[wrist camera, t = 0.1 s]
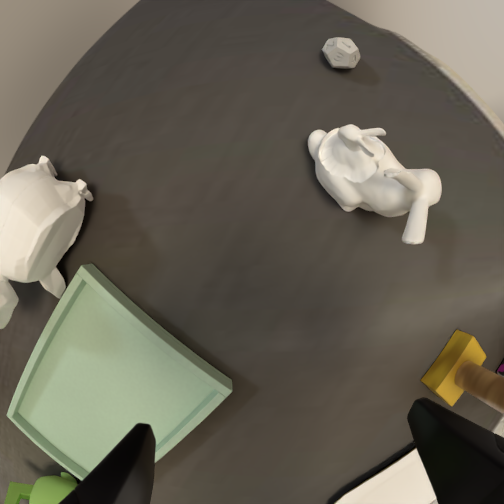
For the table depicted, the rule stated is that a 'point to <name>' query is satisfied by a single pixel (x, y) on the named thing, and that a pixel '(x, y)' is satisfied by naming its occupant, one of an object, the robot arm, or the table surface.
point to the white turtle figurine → (36, 229)
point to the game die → (341, 53)
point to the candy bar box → (501, 369)
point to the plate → (394, 485)
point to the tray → (109, 378)
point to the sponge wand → (464, 373)
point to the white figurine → (373, 177)
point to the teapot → (42, 490)
